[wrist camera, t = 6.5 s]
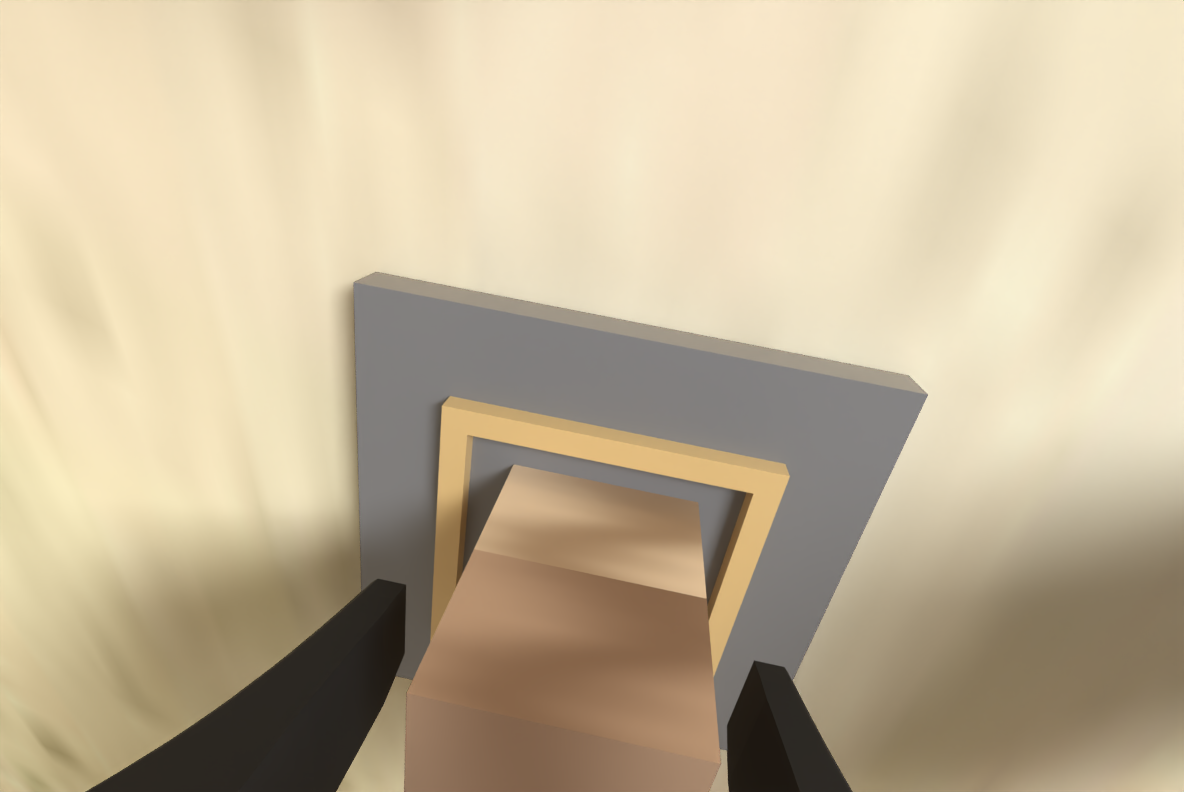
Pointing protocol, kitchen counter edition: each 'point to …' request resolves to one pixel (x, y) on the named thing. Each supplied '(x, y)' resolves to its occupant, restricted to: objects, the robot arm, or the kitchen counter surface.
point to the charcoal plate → (617, 451)
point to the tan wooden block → (571, 650)
